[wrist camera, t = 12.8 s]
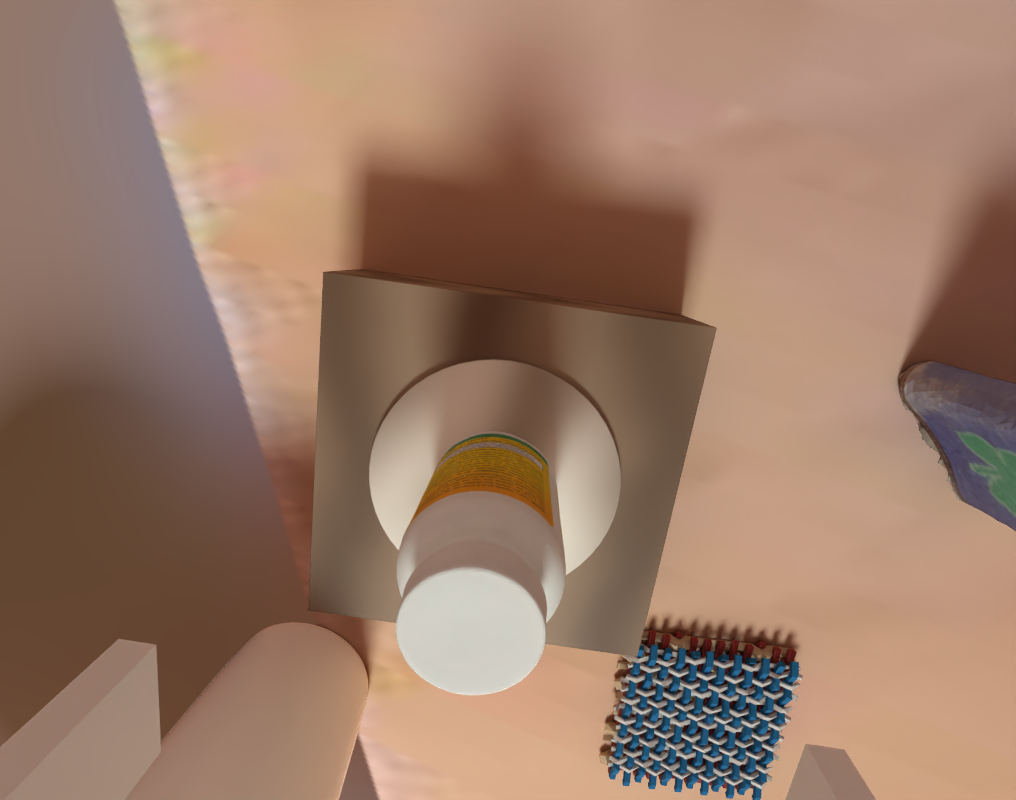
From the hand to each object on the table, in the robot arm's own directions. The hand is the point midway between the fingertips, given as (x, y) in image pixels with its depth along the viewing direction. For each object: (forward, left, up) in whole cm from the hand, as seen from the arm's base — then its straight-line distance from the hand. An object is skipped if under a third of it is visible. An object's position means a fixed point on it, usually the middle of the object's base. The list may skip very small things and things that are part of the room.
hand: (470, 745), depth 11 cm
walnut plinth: (0, 0, -18) cm, 18 cm away
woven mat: (-14, +15, -19) cm, 28 cm away
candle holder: (+10, +17, -18) cm, 27 cm away
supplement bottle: (0, 0, -13) cm, 13 cm away
